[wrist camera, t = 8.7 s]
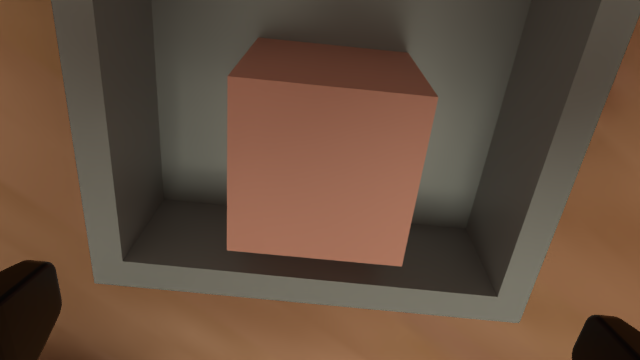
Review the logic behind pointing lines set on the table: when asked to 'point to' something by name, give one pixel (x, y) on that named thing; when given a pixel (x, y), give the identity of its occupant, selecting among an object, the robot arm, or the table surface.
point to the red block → (325, 151)
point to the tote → (440, 162)
